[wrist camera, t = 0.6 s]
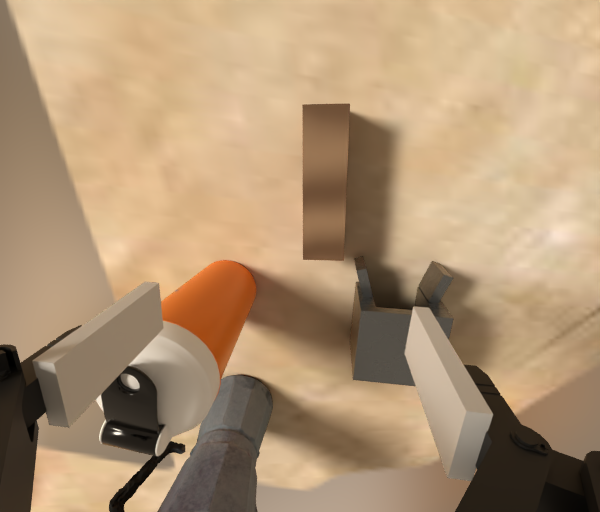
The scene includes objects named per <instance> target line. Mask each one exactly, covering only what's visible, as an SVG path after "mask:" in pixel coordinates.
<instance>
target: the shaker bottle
mask: <svg viewBox="0 0 600 512" xmlns="http://www.w3.org/2000/svg"><path fill="white" fill-rule="evenodd" d="M255 296H256V284H255V281H254V278H253V276H252V275H251V273H250V272H249V271H248V270H247V269H246V268H245V267H243V266H242V265H240V264H238V263H236V262H233V261H227V260H223V261H217V262H214V263H212V264H210V265H209V266H207V267H206V268H205V269H203V270H202V271H201V272H199V273H198V274H197V275H196V276H194V277H193V278H192V279H190V280H189V281H188V282H186V283H185V284H184V285H182V286H181V287H180V288H178V289H177V290H176V291H175V292H173V293H172V294H171V295H169V296H168V297H167V298H165V299H164V300H163V301H161V309H162V319H163V329H162V331H161V332H160V333H159V334H158V335H157V336H156V337H155V338H154V339H153V340H152V341H151V342H150V343H149V344H148V345H147V346H146V347H145V348H144V349H143V351H142V352H141V353H140V354H139V355H138V356H137V357H136V358H135V359H134V360H133V361H132V362H131V363H130V364H129V365H128V366H127V367H126V368H125V369H124V371H123V372H122V373H121V374H120V375H119V376H118V377H117V378H116V379H115V380H114V381H113V382H112V383H111V384H110V385H109V386H108V387H107V388H106V389H105V391H104V392H103V393H102V394H101V395H100V396H99V397H98V398H97V399H96V401H97V403H98V404H99V406H100V408H101V409H102V410H103V412H104V415H105V419H106V420H105V421H104V424H103V425H102V428H101V431H100V435H99V440H100V442H101V443H102V444H105V445H109V446H113V447H118V448H122V449H126V450H131V451H135V452H140V453H145V454H149V455H153V456H160V455H161V454H162V453H163V452H164V450H165V449H166V447H167V445H168V443H169V442H170V440H171V438H172V437H173V436H176V435H179V434H181V433H184V432H186V431H189V430H191V429H193V428H194V427H196V426H197V425H199V424H200V423H201V422H202V421H203V420H204V419H205V417H206V416H207V414H208V412H209V410H210V408H211V406H212V404H213V402H214V400H215V398H216V397H217V395H218V393H219V389H220V385H221V377H222V375H223V373H224V370H225V368H226V366H227V363H228V361H229V359H230V356H231V354H232V351H233V349H234V347H235V344H236V342H237V340H238V337H239V335H240V333H241V330H242V328H243V325H244V323H245V321H246V318H247V316H248V314H249V311H250V309H251V307H252V304H253V302H254V299H255Z"/></svg>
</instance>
